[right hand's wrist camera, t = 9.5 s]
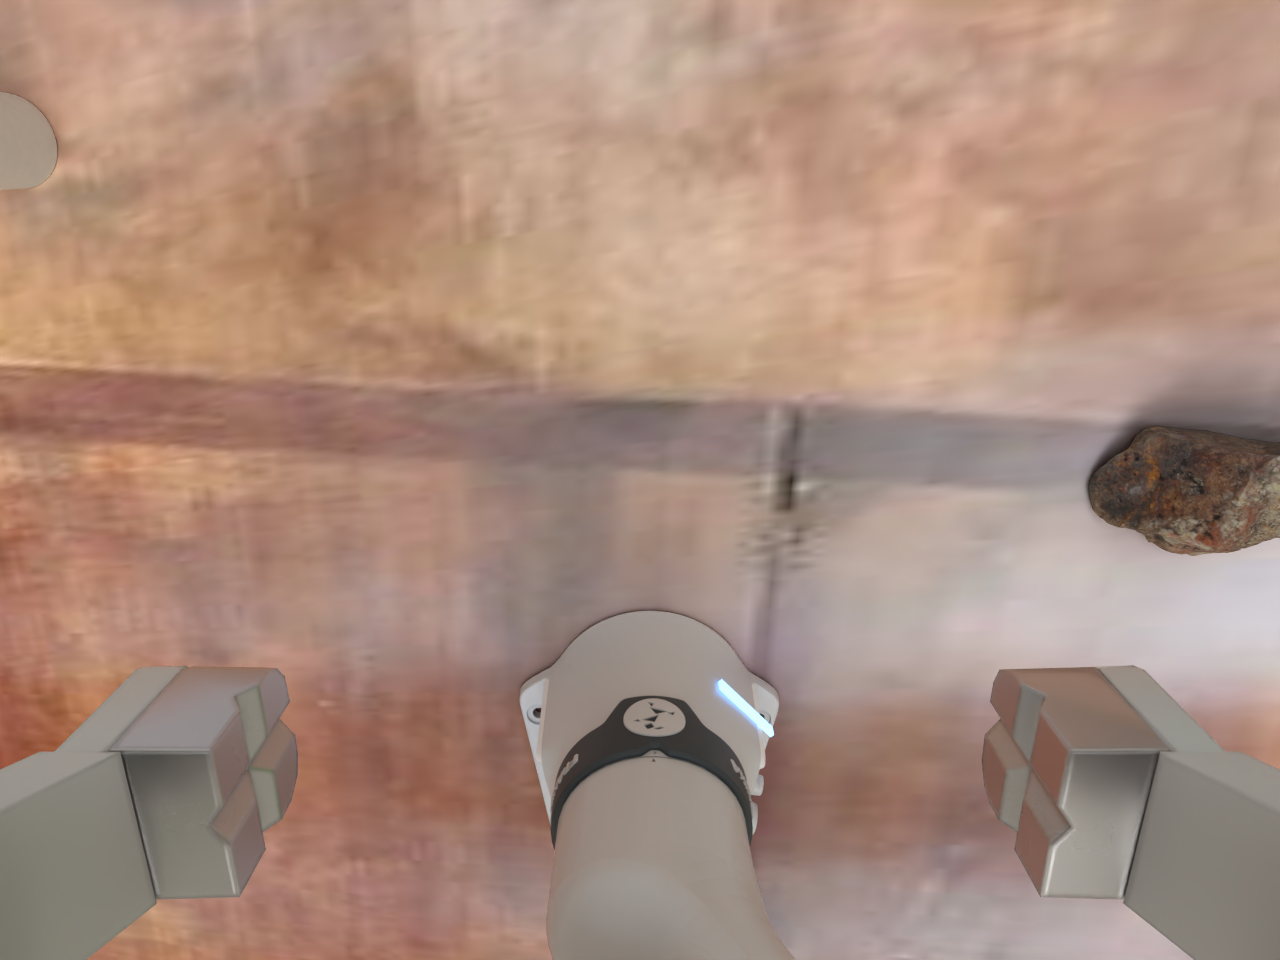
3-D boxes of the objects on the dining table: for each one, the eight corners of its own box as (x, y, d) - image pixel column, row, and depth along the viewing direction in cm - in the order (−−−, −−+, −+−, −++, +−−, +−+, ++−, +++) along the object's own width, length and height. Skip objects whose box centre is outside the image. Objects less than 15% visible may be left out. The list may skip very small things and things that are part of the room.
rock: (1121, 382, 58) (1065, 520, 61) (1188, 416, 50) (1119, 573, 53) (1339, 432, 58) (1270, 568, 61) (1442, 474, 50) (1356, 628, 53)
